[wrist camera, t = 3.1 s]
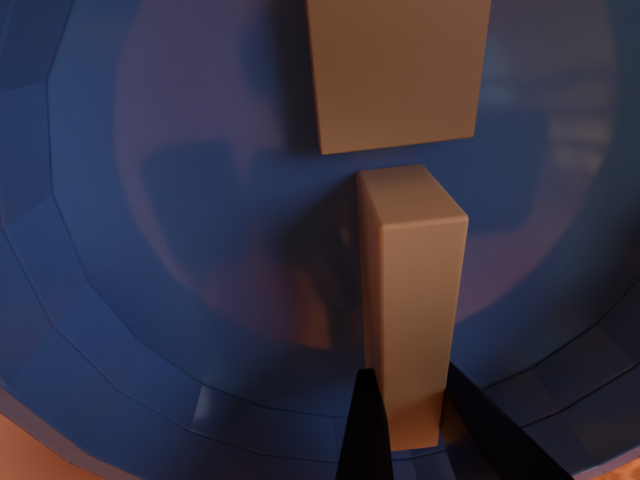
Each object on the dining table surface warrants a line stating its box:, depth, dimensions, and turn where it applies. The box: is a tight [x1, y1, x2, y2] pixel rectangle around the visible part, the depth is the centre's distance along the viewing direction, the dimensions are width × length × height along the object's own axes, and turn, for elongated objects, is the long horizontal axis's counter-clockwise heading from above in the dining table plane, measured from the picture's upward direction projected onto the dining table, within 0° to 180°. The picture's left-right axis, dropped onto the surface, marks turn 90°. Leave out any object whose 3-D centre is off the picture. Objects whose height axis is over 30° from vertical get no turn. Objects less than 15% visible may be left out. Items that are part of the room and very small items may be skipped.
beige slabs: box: [304, 0, 491, 452], centre depth 7 cm, size 11×3×2 cm, turn 6°
